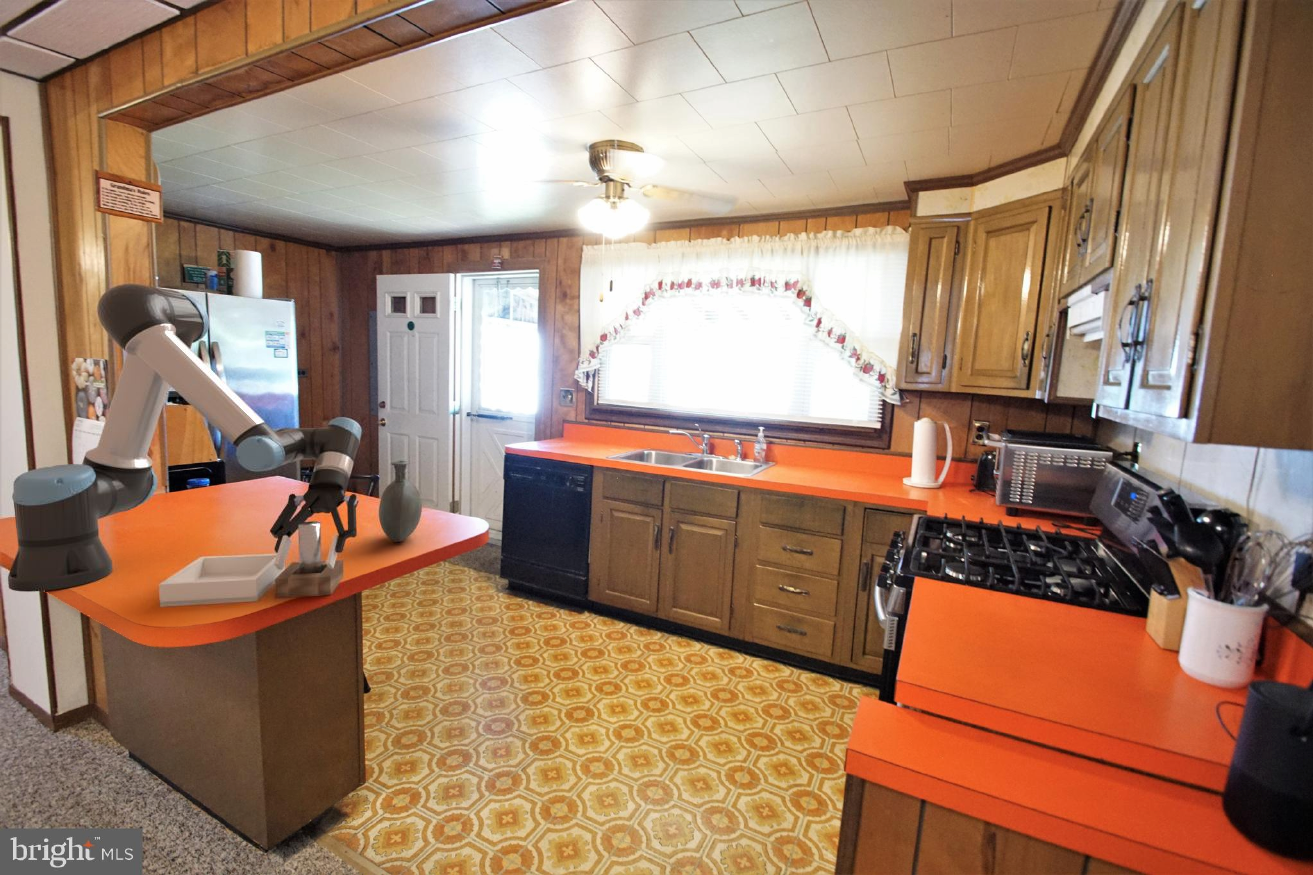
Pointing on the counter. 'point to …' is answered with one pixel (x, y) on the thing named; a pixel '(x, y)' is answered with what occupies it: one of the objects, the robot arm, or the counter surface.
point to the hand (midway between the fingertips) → (304, 566)
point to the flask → (400, 506)
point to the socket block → (308, 581)
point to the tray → (220, 580)
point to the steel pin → (310, 547)
